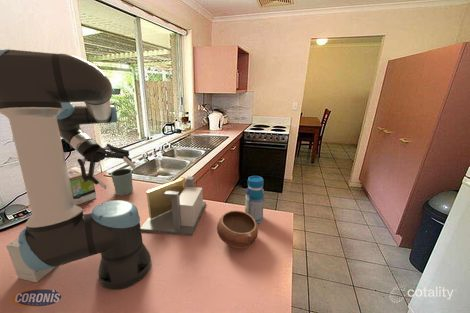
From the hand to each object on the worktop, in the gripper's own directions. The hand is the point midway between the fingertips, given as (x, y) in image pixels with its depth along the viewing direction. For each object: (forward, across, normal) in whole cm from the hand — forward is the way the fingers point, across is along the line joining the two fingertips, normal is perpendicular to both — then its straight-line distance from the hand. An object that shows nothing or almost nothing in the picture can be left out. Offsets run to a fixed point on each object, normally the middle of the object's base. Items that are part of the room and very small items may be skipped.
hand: (120, 176), depth 88 cm
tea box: (-23, +10, -37) cm, 44 cm away
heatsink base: (+26, -8, -12) cm, 30 cm away
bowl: (+53, -10, +3) cm, 54 cm away
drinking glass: (-9, -6, -34) cm, 36 cm away
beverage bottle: (+54, -26, -2) cm, 60 cm away
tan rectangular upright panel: (+21, -8, -13) cm, 26 cm away
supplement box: (+8, +36, -7) cm, 38 cm away
